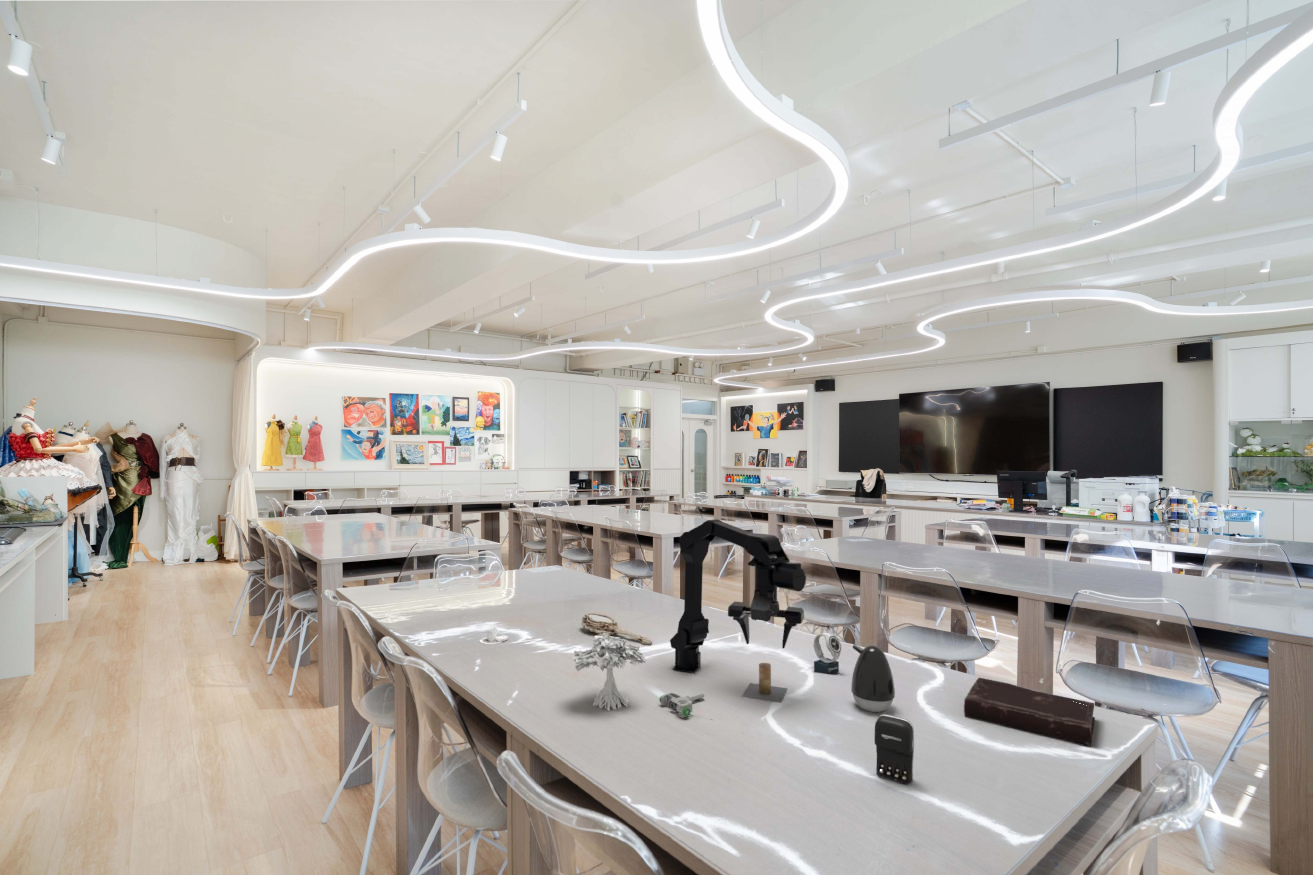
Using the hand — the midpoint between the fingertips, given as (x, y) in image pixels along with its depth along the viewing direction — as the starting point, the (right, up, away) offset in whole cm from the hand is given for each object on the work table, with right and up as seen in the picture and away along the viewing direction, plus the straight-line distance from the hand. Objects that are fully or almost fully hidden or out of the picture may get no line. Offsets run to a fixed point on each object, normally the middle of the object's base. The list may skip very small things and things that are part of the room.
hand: (765, 645), depth 161 cm
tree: (-40, -13, -5) cm, 42 cm away
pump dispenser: (+25, -13, -7) cm, 29 cm away
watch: (+21, -14, +18) cm, 30 cm away
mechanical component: (-16, -11, -5) cm, 20 cm away
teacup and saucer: (-81, -14, +41) cm, 92 cm away
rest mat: (0, -13, 0) cm, 13 cm away
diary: (+61, -14, -12) cm, 64 cm away
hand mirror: (-41, -14, +50) cm, 67 cm away
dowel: (0, -12, 0) cm, 12 cm away
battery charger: (+18, -13, -40) cm, 46 cm away
